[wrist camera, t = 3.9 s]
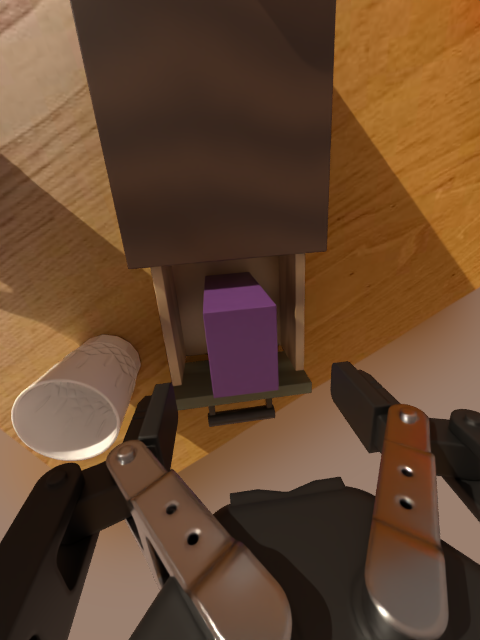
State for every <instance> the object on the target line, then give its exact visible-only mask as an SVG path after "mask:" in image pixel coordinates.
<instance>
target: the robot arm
mask: <svg viewBox="0 0 480 640" xmlns="http://www.w3.org/2000/svg"><path fill="white" fill-rule="evenodd" d="M331 395H332V399H333V401H334V403H335V404H336V406H337V407H338V408H339V410H340V412H341V413H342V414H343V416H344V417H345V419H346V420H347V422H348V423H349V425H350V426H351V428H352V429H353V431H354V432H355V433H356V435H357V436H358V438H359V439H360V441H361V442H362V444H363V445H364V446H365V448H366V450H367V451H368V452H369V453H374V452H380V453H381V454H382V456H381V462H380V469H379V476H378V483H377V489H376V496H374V495H372V494H370V493H368V492H365V491H363V490H360V489H357V488H353V487H347V486H345V485H344V483H343V481H342V479H341V477H335V478H329V479H322V480H315V481H312V482H310V483H308V484H305V485H303V486H301V487H298V488H296V489H294V490H292V491H289V492H281V491H270V490H260V489H257V490H251V491H244V492H237V493H230V502H231V504H229V505H226V506H224V507H223V508H221V509H219V510H218V511H217V512H215V513H214V514H212V513H211V512H210V511H209V510H208V509H207V508H206V506H205V505H204V504H203V503H202V502H201V501H200V499H199V498H198V497H197V496H196V495H195V494H194V492H193V491H192V490H191V489H190V488H189V487H188V486H187V485H186V483H185V482H184V481H183V480H182V478H180V476H179V475H178V474H177V473H176V472H175V471H174V470H173V469H171V470H170V468H171V462H172V455H173V449H174V443H175V437H176V430H177V424H178V409H177V404H176V399H175V393H174V388H173V384H172V383H163V384H156V385H155V388H154V391H153V394H152V395H151V396H145V397H144V398H143V399H142V400H141V401H140V402H139V403H138V405H137V408H136V410H135V413H134V415H133V418H132V420H131V423H130V425H129V428H128V430H127V433H126V435H125V438H124V440H123V443H121V444H119V445H118V446H116V447H115V448H114V449H113V450H112V451H111V452H110V453H109V454H108V456H107V459H106V461H104V462H102V463H100V464H98V465H95V466H93V467H90V468H87V469H85V470H82V471H81V468H80V466H79V465H78V464H76V463H65V464H62V465H59V466H57V467H55V468H53V469H51V470H50V471H48V472H47V473H45V474H44V475H43V476H42V477H41V478H40V479H39V480H38V482H37V483H36V484H35V486H34V488H33V490H32V491H31V493H30V494H29V496H28V498H27V500H26V501H25V503H24V504H23V506H22V508H21V509H20V511H19V513H18V514H17V516H16V518H15V519H14V521H13V523H12V524H11V526H10V528H9V530H8V531H7V533H6V535H5V536H4V538H3V540H2V541H1V543H0V640H67V639H68V636H69V633H70V629H71V626H72V623H73V619H74V616H75V612H76V609H77V606H78V603H79V599H80V596H81V593H82V589H83V586H84V582H85V579H86V576H87V573H88V569H89V566H90V563H91V559H92V556H93V552H94V549H95V546H96V542H97V539H98V536H99V532H100V531H101V530H103V529H105V528H107V527H109V526H112V525H114V524H116V523H118V522H120V521H122V520H124V519H125V521H126V523H127V525H128V527H129V529H130V531H131V533H132V534H133V536H134V538H135V540H136V542H137V543H138V546H139V548H140V549H141V551H142V553H143V555H144V557H145V559H146V561H147V563H148V565H149V568H150V571H151V573H152V575H153V578H154V580H155V582H156V584H157V586H158V588H159V590H160V592H159V593H158V595H157V597H156V598H155V600H154V601H153V603H152V605H151V606H150V607H149V609H148V610H147V612H146V614H145V615H144V617H143V618H142V620H141V621H140V623H139V624H138V626H137V627H136V629H135V631H134V632H133V634H132V635H131V637H130V638H129V640H480V565H479V564H478V563H476V562H474V561H473V560H472V559H470V558H469V557H467V556H466V555H464V554H463V553H461V552H459V551H458V550H456V549H455V548H453V547H452V546H450V545H449V544H447V543H446V542H444V541H443V540H441V539H440V528H439V512H438V497H437V481H436V476H442V477H443V479H444V480H445V481H446V482H447V483H448V485H449V486H450V487H451V488H452V489H453V491H454V492H455V493H456V494H457V495H458V497H459V498H460V499H461V500H462V501H463V503H464V504H465V505H466V506H467V507H468V509H469V510H470V511H471V512H472V513H473V515H474V516H475V517H476V518H477V519H478V521H479V522H480V413H479V412H476V411H472V410H467V409H458V410H454V411H453V412H452V413H451V416H450V420H446V419H435V418H428V416H427V415H426V414H425V413H424V412H423V411H421V410H419V409H418V408H416V407H413V406H410V405H406V404H400V403H399V402H398V401H397V400H396V399H395V398H394V397H393V396H392V395H391V394H390V393H389V392H388V391H387V390H386V389H385V388H383V387H382V385H381V384H379V383H378V382H377V381H376V380H375V379H374V378H373V377H372V376H371V375H370V374H368V373H366V372H364V371H362V370H357V369H356V368H355V367H354V366H353V365H352V364H351V363H350V362H348V361H346V362H338V363H333V364H332V370H331Z"/></svg>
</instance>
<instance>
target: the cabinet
mask: <svg viewBox="0 0 480 640" xmlns="http://www.w3.org/2000/svg"><path fill="white" fill-rule="evenodd" d="M70 3H71V8H72V13H73V17H74V22H75V26H76V31H77V36H78V40H79V45H80V49H81V54H82V59H83V63H84V68H85V72H86V77H87V81H88V86H89V91H90V95H91V100H92V104H93V109H94V114H95V118H96V123H97V127H98V132H99V137H100V141H101V146H102V150H103V155H104V159H105V164H106V169H107V173H108V178H109V182H110V187H111V192H112V196H113V201H114V205H115V210H116V215H117V219H118V224H119V228H120V233H121V238H122V242H123V247H124V251H125V256H126V260H127V265H128V269H138V268H149V267H160V266H171V265H182V264H193V263H204V262H215V261H226V260H237V259H248V258H259V257H270V256H281V255H292V254H303V253H314V252H325V251H327V229H328V202H329V175H330V148H331V121H332V94H333V67H334V40H335V13H336V0H70Z"/></svg>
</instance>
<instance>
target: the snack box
mask: <svg viewBox="0 0 480 640" xmlns="http://www.w3.org/2000/svg"><path fill="white" fill-rule="evenodd" d="M203 319H204V326H205V334H206V342H207V350H208V357H209V365H210V373H211V380H212V388H213V396H214V398H220V397H228V396H236V395H243V394H251V393H259V392H266V391H274V390H279V377H278V341H277V306H276V304H275V303H274V302H273V301H272V300H271V298H270V297H269V296H268V295H267V293H266V292H265V291H264V290H263V288H262V287H261V286H260V285H259V283H258V282H257V281H256V280H255V279H254V277H253V276H252V275H251V274H250V272H242V273H231V274H220V275H210V276H205V284H204V302H203Z"/></svg>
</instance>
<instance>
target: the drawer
mask: <svg viewBox="0 0 480 640" xmlns="http://www.w3.org/2000/svg"><path fill="white" fill-rule="evenodd" d="M150 268H151V273H152V278H153V284H154V289H155V294H156V300H157V305H158V310H159V315H160V321H161V326H162V331H163V337H164V342H165V347H166V352H167V358H168V363H169V368H170V374H171V379H172V382H171V383H172V384H173V388H174V393H175V399H176V404H177V409H178V410H185V409H192V408H200V407H207V406H209V413H208V422H209V427H212V426H219V425H226V424H234V423H241V422H248V421H255V420H263V419H270V418H275V409H274V406H273V404H272V398H275V397H283V396H290V395H298V394H305V393H311V392H312V382H311V380H310V379H309V377H308V376H307V374H306V373H305V371H304V311H305V253H303V254H292V255H281V256H270V257H259V258H248V259H237V260H226V261H215V262H204V263H193V264H182V265H171V266H160V267H150ZM242 272H250V274H251V275H252V276H253V277H254V279H255V280H256V281H257V282H258V283H259V285H260V286H261V287H262V288H263V290H264V291H265V292H266V293H267V295H268V296H269V297H270V298H271V300H272V301H273V302H274V303H275V304H276V306H277V341H278V345H281V346H282V348H283V350H284V351H280V352H278V377H279V390H274V391H266V392H259V393H251V394H243V395H236V396H228V397H220V398H214V396H213V388H212V380H211V373H210V365H209V360H204V361H196V362H187V363H185V361H186V356H192V355H200V354H208V350H207V342H206V334H205V326H204V319H203V302H204V284H205V276H210V275H220V274H231V273H242ZM260 399H265V400H266V405H263V406H255V407H248V408H241V409H233V410H226V411H218V412H215V405H222V404H230V403H237V402H245V401H253V400H260Z"/></svg>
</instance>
